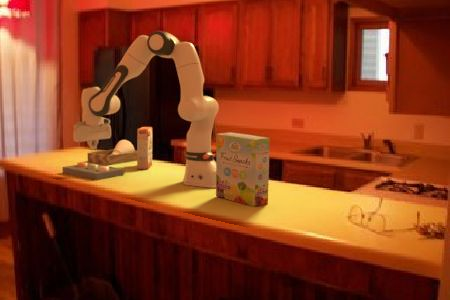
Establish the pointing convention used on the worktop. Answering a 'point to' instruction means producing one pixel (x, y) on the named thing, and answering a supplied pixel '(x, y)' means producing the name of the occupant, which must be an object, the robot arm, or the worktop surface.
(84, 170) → the panel
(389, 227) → the worktop surface
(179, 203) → the worktop surface
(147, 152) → the cracker box
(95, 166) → the sage button
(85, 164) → the terracotta button
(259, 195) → the snack box
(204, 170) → the robot arm
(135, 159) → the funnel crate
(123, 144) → the cream teardrop
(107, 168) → the ivory button
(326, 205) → the worktop surface
